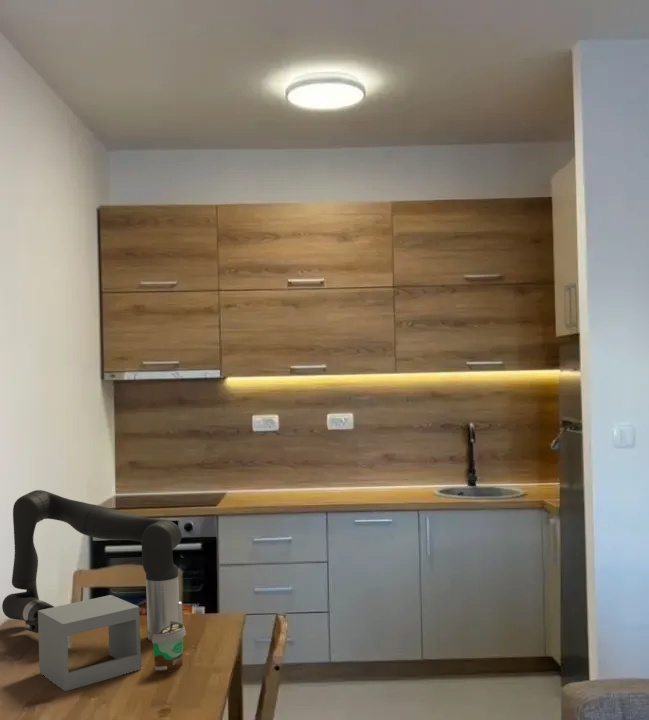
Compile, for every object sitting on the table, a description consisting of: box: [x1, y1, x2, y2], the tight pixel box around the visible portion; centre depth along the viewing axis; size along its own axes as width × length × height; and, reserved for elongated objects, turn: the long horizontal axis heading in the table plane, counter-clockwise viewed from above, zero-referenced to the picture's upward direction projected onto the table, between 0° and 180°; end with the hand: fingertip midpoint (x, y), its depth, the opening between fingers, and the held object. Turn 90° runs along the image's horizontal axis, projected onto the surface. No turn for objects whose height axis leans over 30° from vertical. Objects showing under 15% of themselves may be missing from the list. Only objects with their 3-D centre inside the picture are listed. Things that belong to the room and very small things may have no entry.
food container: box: [151, 621, 187, 674], centre depth 201 cm, size 12×6×10 cm, turn 168°
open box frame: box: [38, 594, 142, 692], centre depth 200 cm, size 20×17×16 cm
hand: (62, 627), depth 214 cm, fingers closed on cream block, 5 cm apart
